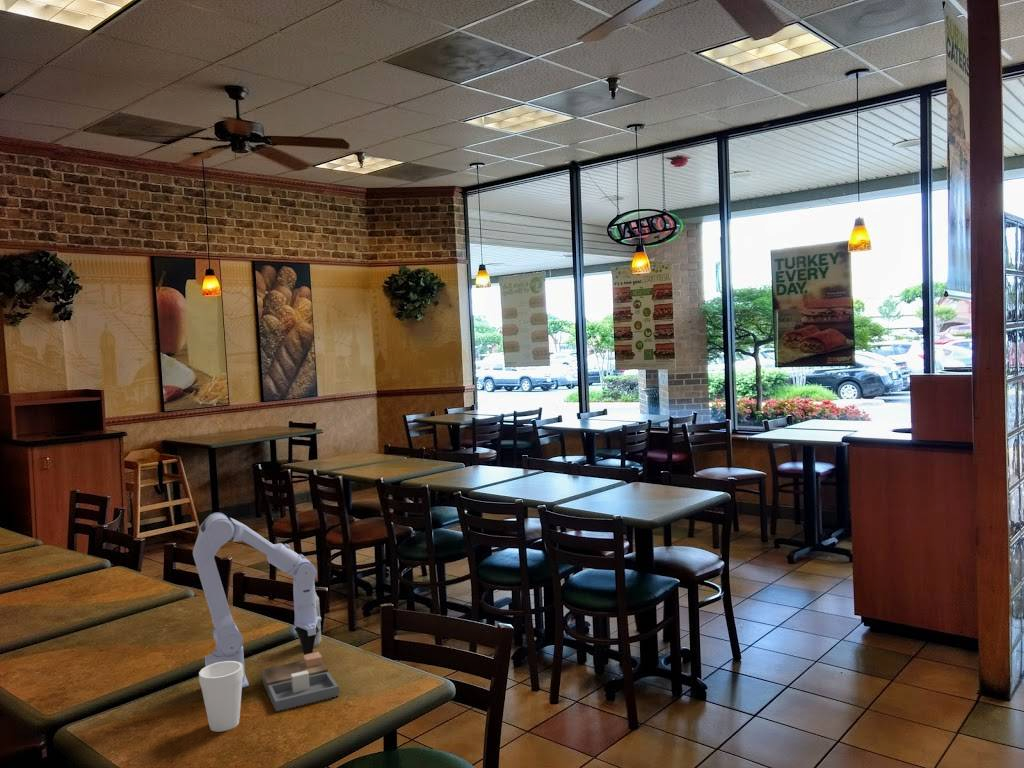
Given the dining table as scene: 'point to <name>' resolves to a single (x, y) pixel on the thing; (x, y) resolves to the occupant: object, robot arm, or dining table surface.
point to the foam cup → (222, 693)
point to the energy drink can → (318, 636)
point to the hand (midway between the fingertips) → (307, 653)
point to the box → (303, 692)
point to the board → (288, 672)
